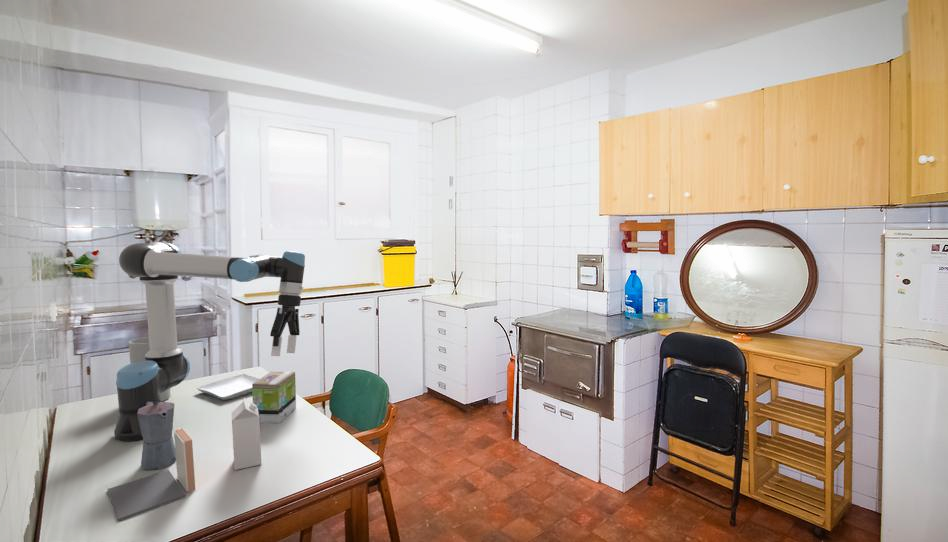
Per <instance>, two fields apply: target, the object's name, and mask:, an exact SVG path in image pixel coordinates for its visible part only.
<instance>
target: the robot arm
mask: <svg viewBox="0 0 948 542" xmlns="http://www.w3.org/2000/svg"><path fill="white" fill-rule="evenodd" d="M118 263H119V266H120V268H121V270H122V271H123V272H124V273H126V274H127V275H129V276H131V277H133V278H134V277H136V278H139V282H141V283H142V284H143V285H144V287H145V288H144V289H145V290H144V291H145V302H146V313H147V314H146V315H147V316H146V317H147V318H146V319H147V326H148V328H147V330H148V337H149V346H150V350H149V351H148V352H147V353H146V354H145V361H139V362H136V363H131V364H130V363H129V364H127V365H124V366H123V367H120V368H119V370H118V371H117V373H116V382H115V384H116V389H117V390H116V391H117V400H118V411H119V415H118V418H117V421H116V425H115V428H114V433H113V435H114V439H115V440H116V441H118V442H134V441H135V442H136V441H141V440H143V437H142V434H141V429H140V425H139V421H138V416H137V413H138V409H140V408H142V407H144V403H145V401H146V400H148V401H149V402H152V401H153V400H154V399H159V401H158V403H159V402H161V399H160V393H162V392H164V391H166V390H168V389H170V390H171V389H172V388H173V387H176V386H178V385H179V384H181V383H183V381H184V380H186V379H187V377H188V376H189V374H190V371H191V362H190V360H189V358H187V357H186V355H185V354H184V352H183V351H184V350H183V349H182V348H180V347H179V346H178V333H177V332H178V331H177V330H178V329H177V319H176V318H177V317H176V304H175V288H174V287H175V285H174V284H175V282H176V281H177V280H178V279H179V277H190V278H191V277H192V278H206V279H207V278H208V279H222V280H223V279H224V280H233V281H234V280H235V281H236V282H240V283H248V282H251V281H254V280H258V279H261V278H280V281H279V288H278V289H279V290H278V294H279V295H278V298H277V305H278V306H281V307H277V309H276V315H275V318H274V321H273V324H272V327H271V329H270V330H271V331H270V333H269V334H270V337H272V346H271V353H270V356H271V357H281V349H282V340H283V336H282V334H283V332H284V329H285V327H286V325H287V327H288V332H289V334H288V336H287V337H288V338H287V346H286V347H287V348H286V354H295V352H296V346H297V344H296V343H297V336H300V334H301V332H300V322H299V321H300V319H299V318H300V317H299V311H300V310H299V308H296V307H300V306H301V303H302V302H301V301H302V297H301V295H302V291H303V289H304V286H303V281H304V273H305V266H306V265H305V263H306V256H305V254H304V253H302V252H298V251H292V250H291V251H288V250H286V251H284V252H283V255H282V256H275V255H274V256H272V255H263V254H256V255H255V254H252V255H250V256H249V257H239V256H238V257H236V256H235V257H234V256H223V255H222V256H220V255H209V254H207V255H206V254H195V253H194V254H193V253H183V252H182V251H181V249H180V248H178V247H177V246H176V245H175V244H172V243H170V242H165V241H164V242H163V241H155V242H142V243H140V242H139V243H138V242H137V243H133V244H130V245H128V246H126V247H125V248H124V249H123V250H122V251H121V252H120V254H119V257H118Z"/></svg>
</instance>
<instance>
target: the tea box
mask: <svg viewBox="0 0 948 542" xmlns="http://www.w3.org/2000/svg"><path fill="white" fill-rule="evenodd" d="M296 387H297V386H296V372H295V371H270V372H269V373H267V374H265V375H264V376H263V377H261V378H260V379H259V380H258V381H256V382H255V383H253V384H252V392H251V393H252V403H254V404H255V405H257V408H258V412H259V424H280V423H281V422H282V421H283V420H284V419H285V418H286V417H288V416H289V415H290V414H291V413H292V412H293V411H294V410H295V409H297V395H296V392H297V391H296V389H297V388H296Z"/></svg>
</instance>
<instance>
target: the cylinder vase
mask: <svg viewBox="0 0 948 542" xmlns="http://www.w3.org/2000/svg"><path fill="white" fill-rule="evenodd" d="M128 348H129V349H128V350H129V351H128V353H129V361H130V362H129V364H131V363H136V362H139V361H145V354H146V353H147V352H148V351H149V350H150V346H149V336H144V337H139V338H135V339H131V340H129V341H128ZM170 397H171V388H170V389H168V390H166V391H164V392H162V393H160V399H161V402H165V401H167V400H168V399H169V398H170Z"/></svg>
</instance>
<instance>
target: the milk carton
mask: <svg viewBox="0 0 948 542" xmlns="http://www.w3.org/2000/svg"><path fill="white" fill-rule="evenodd" d="M231 426H232V427H231V431H232V449H233V464H234V470H235V471H238V470H241V469H247V468H251V467H256V466H259V465H262V449H261V448H262V447H261V426H260V423H259V412H258V408H257V405H255V404H254V403H253V402H251V403H249V402H248V401H246V398H245V397H243V401H242V402H241V403H240V404H239V405H238V406H237V407H236V408H235V409H234V410H232V411H231Z"/></svg>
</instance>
